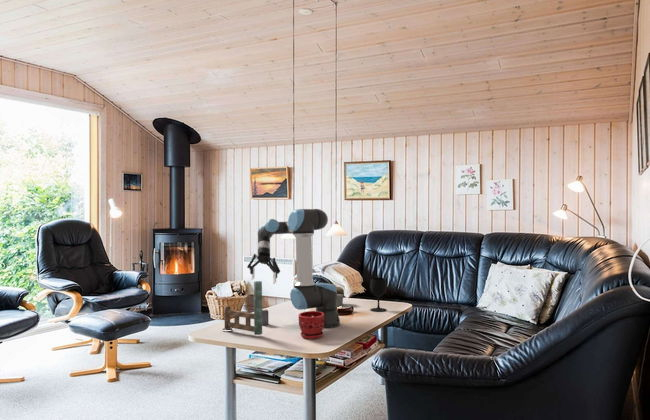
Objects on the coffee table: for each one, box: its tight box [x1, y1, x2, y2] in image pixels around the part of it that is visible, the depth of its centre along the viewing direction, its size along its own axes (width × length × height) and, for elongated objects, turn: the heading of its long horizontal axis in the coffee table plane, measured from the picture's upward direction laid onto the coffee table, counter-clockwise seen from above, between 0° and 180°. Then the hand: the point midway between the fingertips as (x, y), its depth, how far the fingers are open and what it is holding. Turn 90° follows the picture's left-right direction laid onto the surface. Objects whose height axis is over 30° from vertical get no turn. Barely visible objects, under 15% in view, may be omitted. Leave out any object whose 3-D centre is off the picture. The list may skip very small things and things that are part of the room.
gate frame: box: [222, 309, 269, 331], centre depth 283 cm, size 5×27×8 cm, turn 127°
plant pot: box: [297, 310, 324, 340], centre depth 262 cm, size 13×13×12 cm
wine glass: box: [369, 277, 388, 313], centre depth 326 cm, size 10×10×20 cm
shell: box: [336, 286, 345, 298], centre depth 344 cm, size 11×11×12 cm
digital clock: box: [337, 294, 344, 307], centre depth 324 cm, size 16×9×11 cm, turn 89°
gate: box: [223, 280, 263, 336], centre depth 270 cm, size 26×4×27 cm, turn 55°
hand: (263, 280), depth 302 cm, fingers open, 13 cm apart
